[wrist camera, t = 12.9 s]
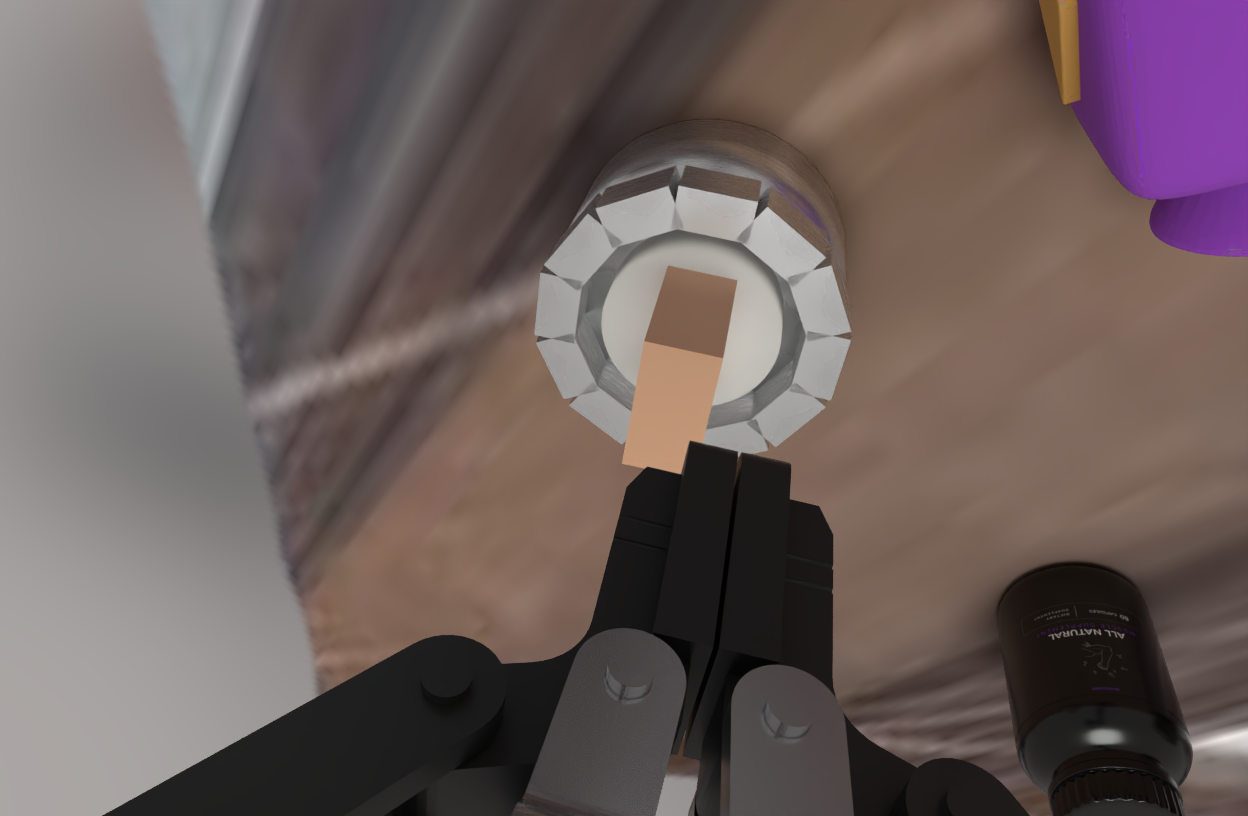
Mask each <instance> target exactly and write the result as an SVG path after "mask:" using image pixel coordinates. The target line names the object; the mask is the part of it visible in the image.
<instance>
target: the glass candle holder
mask: <svg viewBox="0 0 1248 816" xmlns="http://www.w3.org/2000/svg"><path fill="white" fill-rule="evenodd" d="M676 229H679V230H684V231H688V232H693V233H698V234H703V235H707V236H712V237H717V238H721V239H726V240H731V241H736V242H740V243H742V244H743V245H744V246H746V247H747V248H748V249H749V250H750V251H752V252H753V253H754V254H755V255H756V256H758V257H759V258H760V259H761V260H762V261H763V262H765V263H766V264H767V265H768V266H769V267H771V268H772V270H773V271H774V273H775V275H776V277H777V279H778V281H779V284H780V286H781V290H782V294H783V301H784V317H783V328H782V339H781V345H780V350H779V354H778V356H777V359H776V362H775V363H774V365H773V367H772V369H771V371H770V372H769V373H768V375H767V376H766V377H765V379H763V380H762V381H761V382H760V383H759V384H758V385H757V386H756V387H755V388H754V389H752V390H751V391H750V392H748V393H746V394H745V395H743V396H741V397H739V398H737V399H734V400H732V401H730V402H726V403H723V404H719V405H713V406H712V407H711V411H710V415H709V419H708V423H707V428H706V432H705V436H704V440H703V443H704V444H708V445H713V446H717V447H721V448H726V449H730V450H734V451H738V456H740V454H741V452H744V453H748V454H752V453H758V452H763V451H768V448H769V442H770V443H772V444H773V445H774V446H775V447H777V446H778V445H779V444H780V443H782V442H783V441H784V440H785V439H787V438H788V437H789V436H790V435H792V434H793V433H794V432H795V431H797V430H798V429H799V428H800V427H802V426H803V425H804V424H805V423H807V422H808V421H809V420H810V419H812V418H813V417H814V416H815V415H817V414H818V413H819V412H820V411H822V410H823V409H824V408H825V407H826V400H831V398H832V395H833V392H834V389H835V386H836V383H837V380H838V377H839V374H840V372H841V369H842V366H843V363H844V360H845V357H846V354H847V351H848V348H849V345H850V342H851V305H850V302H849V299H848V295H847V292H846V250H845V231H844V226H843V221H842V216H841V213H840V210H839V207H838V204H837V202H836V199H835V197H834V195H833V193H832V191H831V189H830V187H829V186H828V184H827V182H826V181H825V179H824V178H823V177H822V175H821V174H820V173H819V171H818V170H817V168H816V167H815V166H814V165H813V164H812V163H811V162H810V161H809V160H808V159H807V158H806V157H805V156H804V155H803V154H801V153H800V152H799V151H798V150H796V149H795V148H794V147H792V146H791V145H790V144H789V143H787V142H785V141H783V140H782V139H780V138H778V137H777V136H775V135H773V134H771V133H769V132H766V131H764V130H761V129H759V128H757V127H754V126H750V125H746V124H743V123H739V122H734V121H727V120H719V119H697V120H689V121H681V122H677V123H673V124H669V125H665V126H662V127H660V128H657V129H655V130H652V131H650V132H648V133H645V134H644V135H642V136H640V137H639V138H637V139H635V140H633V141H632V142H630V143H629V144H628V145H626V146H625V147H624V148H622V149H621V150H620V151H619V152H617V153H616V154H615V155H614V156H613V158H612V159H611V160H610V161H609V162H608V163H607V164H606V165H605V166H604V168H603V169H602V170H601V172H600V173H599V174H598V176H597V177H596V179H595V181H594V182H593V184H592V186H591V188H590V190H589V192H588V194H587V195H586V197H585V199H584V201H583V203H582V205H581V206H580V208H579V210H578V212H577V214H576V216H575V218H574V219H573V221H572V223H571V225H570V227H569V228H568V229H567V230H566V232H565V233H564V234H563V235H562V236H561V238H560V239H559V240H558V241H557V242H556V244H555V246H554V247H553V249H552V251H551V253H550V255H549V256H548V258H547V260H546V262H545V264H544V267H543V269H542V271H541V274H540V284H539V294H538V304H537V313H536V323H535V333H534V335H538V336H539V337H538V339H537V341H536V344H537V346H538V348H539V350H540V352H541V354H542V356H543V358H544V360H545V362H546V364H547V366H548V368H549V370H550V372H551V374H552V376H553V378H554V380H555V382H556V384H557V386H558V388H559V390H560V392H561V394H562V396H563V398H564V399H567V398H571V397H572V400H571V402H570V405H569V406H571V407H572V408H573V409H575V410H576V411H577V412H579V413H580V414H581V415H583V416H584V417H585V418H587V419H588V420H589V421H591V422H592V423H593V424H595V425H596V426H597V427H599V428H600V429H602V430H603V431H604V432H606V433H607V434H608V435H610V436H611V437H612V438H614V439H615V440H616V441H618V442H619V443H620V444H623V443H624V442H625V441H626V439H627V433H628V427H629V422H630V416H631V411H632V405H633V400H634V394H635V389H636V386H634V385H633V384H632V383H631V382H630V381H628V380H627V379H626V378H625V377H624V376H623V375H622V374H621V372H620V371H619V370H618V369H617V367H616V366H615V364H614V363H613V362H612V360H611V358H610V356H609V354H608V352H607V349H606V347H605V344H604V340H603V335H602V326H601V320H602V311H603V306H604V303H605V300H606V297H607V295H608V292H609V290H610V287H611V285H612V283H613V280H614V278H615V275H616V273H617V270H618V269H619V267H620V265H621V263H622V262H623V260H624V259H625V258H626V257H627V255H628V254H629V253H630V252H631V251H632V250H633V249H634V248H635V247H636V246H638V245H639V244H641V243H642V242H643V241H645V240H646V239H648V238H650V237H652V236H656V235H659V234H663V233H666V232H670V231H673V230H676Z"/></svg>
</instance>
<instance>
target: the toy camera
mask: <svg viewBox="0 0 1248 816" xmlns="http://www.w3.org/2000/svg"><path fill="white" fill-rule="evenodd" d="M1039 3H1040V7H1041V12H1042V16H1043V21H1044V25H1045V30H1046V34H1047V38H1048V43H1049V47H1050V52H1051V56H1052V61H1053V65H1054V69H1055V74H1056V78H1057V83H1058V87H1059V92H1060V96H1061V100H1062V102H1063V104H1069V103H1071V105H1072V108H1073V110H1074V112H1075V114H1076V116H1077V118H1078V120H1079V121H1080V123H1081V125H1082V126H1083V128H1084V130H1085V131H1086V133H1087V135H1088V137H1089V138H1090V140H1091V141H1092V143H1093V145H1094V146H1095V148H1096V149H1097V151H1098V153H1099V154H1100V156H1101V157H1102V159H1103V161H1104V162H1105V163H1106V165H1107V166H1108V168H1109V169H1110V171H1111V172H1112V174H1113V175H1114V176H1115V177H1116V179H1117V180H1118V181H1119V182H1120V183H1121V184H1122V185H1123V186H1124V187H1125V188H1126V189H1127V190H1128V191H1130V192H1131V193H1133V194H1135V195H1137V196H1139V197H1142V198H1146V199H1157V200H1156V202H1155V204H1154V206H1153V208H1152V211H1151V214H1150V221H1149V223H1150V227H1151V230H1152V232H1153V233H1154V235H1155V236H1156V237H1157V238H1159V239H1160V240H1161V241H1163V242H1164V243H1166V244H1168V245H1171V246H1173V247H1176V248H1179V249H1182V250H1186V251H1189V252H1194V253H1199V254H1206V255H1215V256H1233V257H1248V0H1039Z"/></svg>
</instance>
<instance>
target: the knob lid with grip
mask: <svg viewBox="0 0 1248 816" xmlns="http://www.w3.org/2000/svg"><path fill="white" fill-rule="evenodd" d="M783 317H784V301H783V294H782V290H781V286H780V284H779V281H778V279H777V277H776V275H775V273H774V271H773V270H772V268H771V267H769V266H768V265H767V264H766V263H765V262H763V261H762V260H761V259H760V258H759V257H758V256H756V255H755V254H754V253H753V252H752V251H750V250H749V249H748V248H747V247H746V246H744V245H743V244H742V243H740V242H736V241H731V240H726V239H721V238H717V237H712V236H707V235H703V234H698V233H693V232H688V231H684V230H679V229H676V230H673V231H670V232H666V233H663V234H659V235H656V236H652V237H650V238H648V239H646V240H645V241H643V242H642V243H641V244H639V245H638V246H636V247H635V248H634V249H633V250H632V251H631V252H630V253H629V254H628V255H627V257H626V258H625V259H624V260H623V262H622V263H621V265H620V267H619V269H618V270H617V273H616V275H615V278H614V280H613V283H612V285H611V287H610V290H609V292H608V295H607V297H606V300H605V303H604V306H603V311H602V320H601V326H602V335H603V340H604V344H605V347H606V349H607V352H608V354H609V356H610V358H611V360H612V362H613V363H614V364H615V366H616V367H617V369H618V370H619V371H620V372H621V374H622V375H623V376H624V377H625V378H626V379H627V380H628V381H630V382H631V383H632V384H633V385H634V386H636V389H635V394H634V400H633V405H632V411H631V416H630V422H629V427H628V433H627V439H626V444H625V450H624V455H623V461H622V464H626V465H631V466H635V467H639V468H644V469H645V468H646V467H647V466H648V467H652V468H656V469H660V470H665V471H669V472H673V473H678V474H681V472H682V468H683V464H684V460H685V456H686V452H687V448H688V444H689V441H690V440H691V441H695V442H700V443H703V440H704V436H705V432H706V428H707V423H708V419H709V415H710V411H711V407H712V406H713V405H719V404H723V403H726V402H730V401H732V400H734V399H737V398H739V397H741V396H743V395H745V394H746V393H748V392H750V391H751V390H752V389H754V388H755V387H756V386H757V385H758V384H759V383H760V382H761V381H762V380H763V379H765V377H766V376H767V375H768V373H769V372H770V371H771V369H772V367H773V365H774V363H775V362H776V359H777V356H778V354H779V350H780V345H781V339H782V328H783Z"/></svg>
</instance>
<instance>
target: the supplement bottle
mask: <svg viewBox="0 0 1248 816" xmlns="http://www.w3.org/2000/svg"><path fill="white" fill-rule="evenodd" d="M998 630H999V638H1000V645H1001V652H1002V658H1003V665H1004V671H1005V678H1006V684H1007V691H1008V697H1009V704H1010V711H1011V717H1012V724H1013V730H1014V737H1015V743H1016V749H1017V753H1018V758H1019V761H1020V764H1021V766H1022V768H1023V770H1024V772H1025V773H1026V775H1027V776H1028V777H1029V779H1030V780H1031V781H1032V782H1033V783H1034V784H1035V785H1036V786H1037V787H1038V788H1039V789H1040V790H1041V791H1043V792H1044V793H1045V794H1047V795H1048V799H1049V805H1050V809H1051V811H1052V813H1053V816H1185V813H1184V809H1183V800H1182V796H1181V793H1180V790H1179V787H1180V786H1181V785H1182V783H1183V782H1184V780H1185V779H1186V777H1187V775H1188V773H1189V771H1190V768H1191V764H1192V758H1193V750H1192V744H1191V741H1190V737H1189V733H1188V730H1187V727H1186V724H1185V721H1184V718H1183V714H1182V711H1181V708H1180V705H1179V702H1178V699H1177V696H1176V693H1175V690H1174V687H1173V684H1172V681H1171V678H1170V675H1169V671H1168V668H1167V665H1166V662H1165V659H1164V656H1163V653H1162V650H1161V647H1160V644H1159V641H1158V638H1157V635H1156V631H1155V628H1154V625H1153V622H1152V619H1151V617H1150V614H1149V611H1148V608H1147V606H1146V603H1145V601H1144V599H1143V597H1142V596H1141V594H1140V593H1139V592H1138V591H1137V590H1136V588H1135V587H1134V586H1133V585H1131V584H1130V583H1129V582H1128V581H1126V580H1125V579H1123V578H1121V577H1120V576H1118V575H1116V574H1114V573H1111V572H1109V571H1106V570H1103V569H1099V568H1095V567H1089V566H1079V565H1069V566H1058V567H1052V568H1048V569H1044V570H1041V571H1038V572H1036V573H1033V574H1031V575H1029V576H1027V577H1025V578H1024V579H1022V580H1020V581H1019V582H1018V583H1016V584H1015V585H1014V586H1013V587H1012V588H1011V589H1010V590H1009V591H1008V592H1007V594H1006V595H1005V597H1004V598H1003V600H1002V602H1001V604H1000V607H999V611H998Z"/></svg>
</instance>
